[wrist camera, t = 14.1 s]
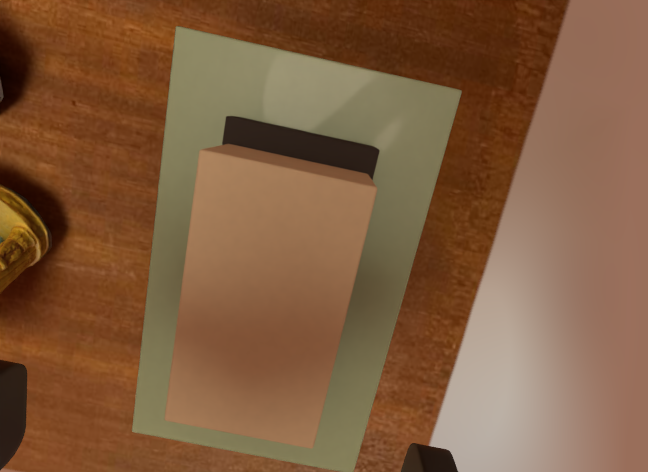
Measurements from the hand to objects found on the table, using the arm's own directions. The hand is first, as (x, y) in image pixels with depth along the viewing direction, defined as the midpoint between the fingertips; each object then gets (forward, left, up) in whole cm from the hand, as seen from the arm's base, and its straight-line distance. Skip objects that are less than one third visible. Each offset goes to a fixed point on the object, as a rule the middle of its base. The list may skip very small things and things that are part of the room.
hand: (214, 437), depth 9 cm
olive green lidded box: (+1, +1, -21) cm, 21 cm away
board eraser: (+1, +1, -11) cm, 11 cm away
